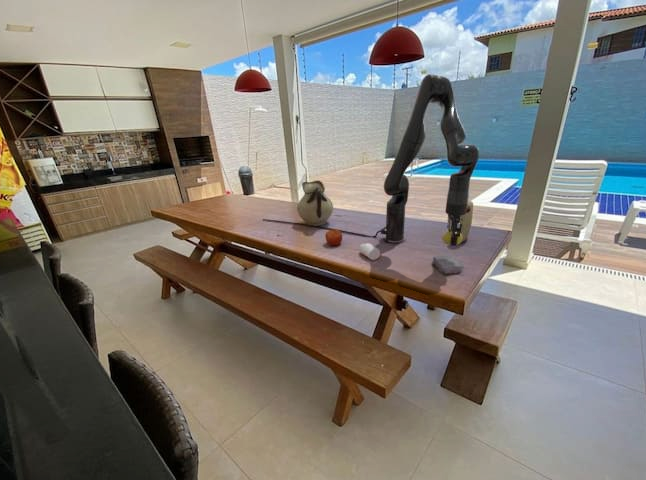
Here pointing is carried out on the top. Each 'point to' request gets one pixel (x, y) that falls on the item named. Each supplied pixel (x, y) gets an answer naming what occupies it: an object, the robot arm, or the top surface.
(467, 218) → the food model
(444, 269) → the stone block
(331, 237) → the tomato
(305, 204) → the cream drawstring sack
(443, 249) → the top surface
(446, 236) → the lemon
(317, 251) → the top surface
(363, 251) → the roll
